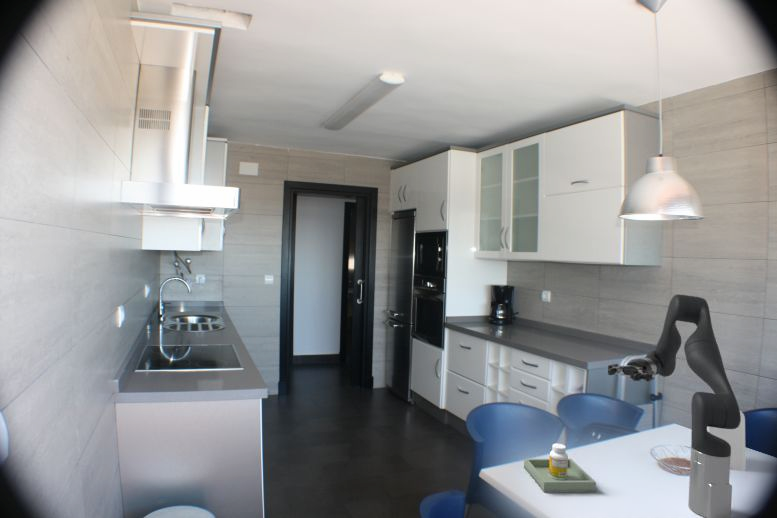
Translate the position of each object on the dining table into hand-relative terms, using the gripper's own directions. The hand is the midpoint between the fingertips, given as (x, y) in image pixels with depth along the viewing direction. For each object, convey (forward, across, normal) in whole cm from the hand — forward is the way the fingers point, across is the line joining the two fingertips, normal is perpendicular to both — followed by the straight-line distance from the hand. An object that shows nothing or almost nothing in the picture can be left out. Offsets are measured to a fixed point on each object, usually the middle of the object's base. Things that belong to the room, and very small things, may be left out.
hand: (621, 375), depth 164 cm
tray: (+30, -5, +30) cm, 43 cm away
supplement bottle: (+30, -5, +29) cm, 42 cm away
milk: (-31, +22, +30) cm, 48 cm away
